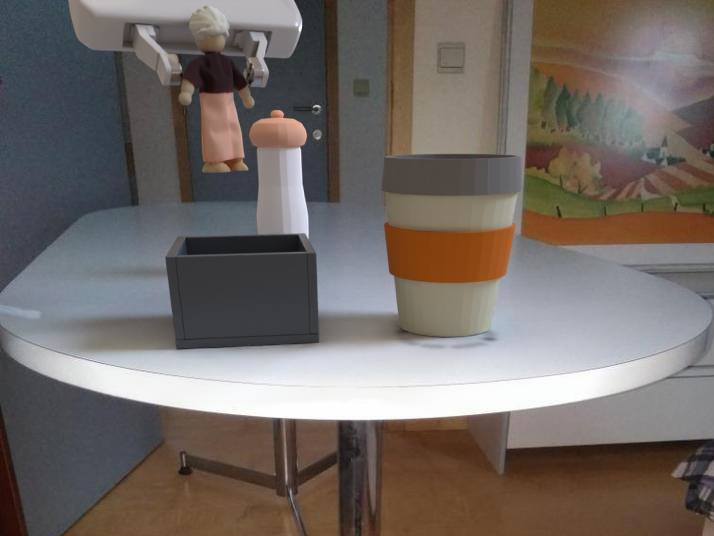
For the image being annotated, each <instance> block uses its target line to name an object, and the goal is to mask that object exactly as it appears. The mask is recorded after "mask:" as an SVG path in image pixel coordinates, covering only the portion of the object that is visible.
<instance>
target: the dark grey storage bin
mask: <svg viewBox="0 0 714 536" xmlns="http://www.w3.org/2000/svg"><path fill="white" fill-rule="evenodd" d="M164 258H165V259H164V260H165V266H166V267H165V268H166V275H167V283H168V291H169V300H170V309H171V315H172V324H173V331H174V340H175V347H176V349H177V350H180V349H181V350H182V349H183V350H184V349H202V348H203V349H204V348H205V349H206V348H224V347H225V348H226V347H247V346H248V347H249V346H268V345H270V346H271V345H291V344H313V343H314V344H316V343H320V325H319V323H320V322H319V294H318V293H319V292H318V291H319V290H318V261H317V252H316V250H315V249H314V247H313V245H312V243H311V240H309V237H308V238H307V236H306V234H305V233H298V234H297V233H296V234H258V233H257V234H222V235H184V236H181V235H180V236H177V237H176V238H175V240H174V242H173V244H172V245H171V247H170V249H169V250H168V252H167V254H166V255H165V257H164Z"/></svg>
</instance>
